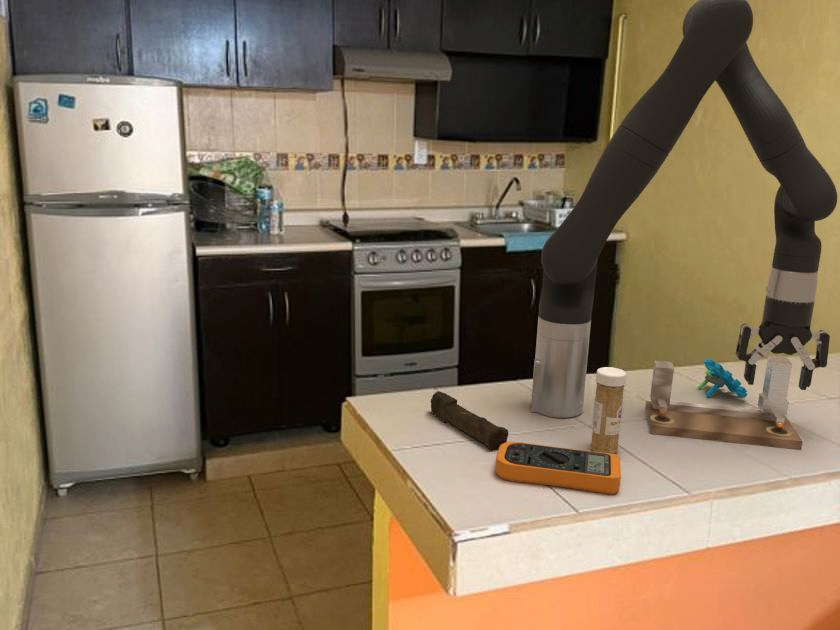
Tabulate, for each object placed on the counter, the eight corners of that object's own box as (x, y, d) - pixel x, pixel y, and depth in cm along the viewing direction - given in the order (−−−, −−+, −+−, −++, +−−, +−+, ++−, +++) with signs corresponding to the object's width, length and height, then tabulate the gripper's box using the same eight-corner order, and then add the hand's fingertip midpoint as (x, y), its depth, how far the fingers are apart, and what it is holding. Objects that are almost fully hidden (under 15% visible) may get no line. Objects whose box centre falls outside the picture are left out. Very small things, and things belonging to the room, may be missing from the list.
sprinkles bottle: (617, 457, 123) (625, 376, 119) (588, 453, 124) (595, 373, 121) (619, 446, 127) (627, 368, 124) (590, 442, 128) (598, 364, 125)
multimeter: (500, 457, 122) (501, 437, 121) (618, 472, 118) (620, 452, 118) (492, 481, 114) (494, 460, 113) (619, 499, 110) (621, 476, 109)
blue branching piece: (759, 398, 147) (725, 361, 145) (736, 419, 147) (703, 383, 145) (729, 385, 158) (698, 351, 156) (708, 406, 158) (677, 371, 156)
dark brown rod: (509, 449, 125) (510, 422, 124) (488, 454, 123) (490, 426, 122) (444, 410, 141) (445, 386, 140) (425, 414, 139) (426, 389, 138)
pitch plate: (650, 433, 133) (656, 379, 130) (645, 408, 144) (651, 358, 142) (801, 449, 128) (810, 394, 126) (783, 422, 140) (791, 371, 137)
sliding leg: (767, 428, 131) (776, 370, 128) (756, 410, 139) (765, 355, 136) (792, 430, 130) (802, 372, 128) (780, 412, 138) (789, 357, 136)
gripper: (750, 297, 129) (736, 389, 133) (843, 303, 126) (826, 397, 131) (741, 287, 136) (729, 375, 140) (829, 293, 134) (813, 383, 138)
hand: (775, 386), depth 135 cm, fingers open, 8 cm apart
